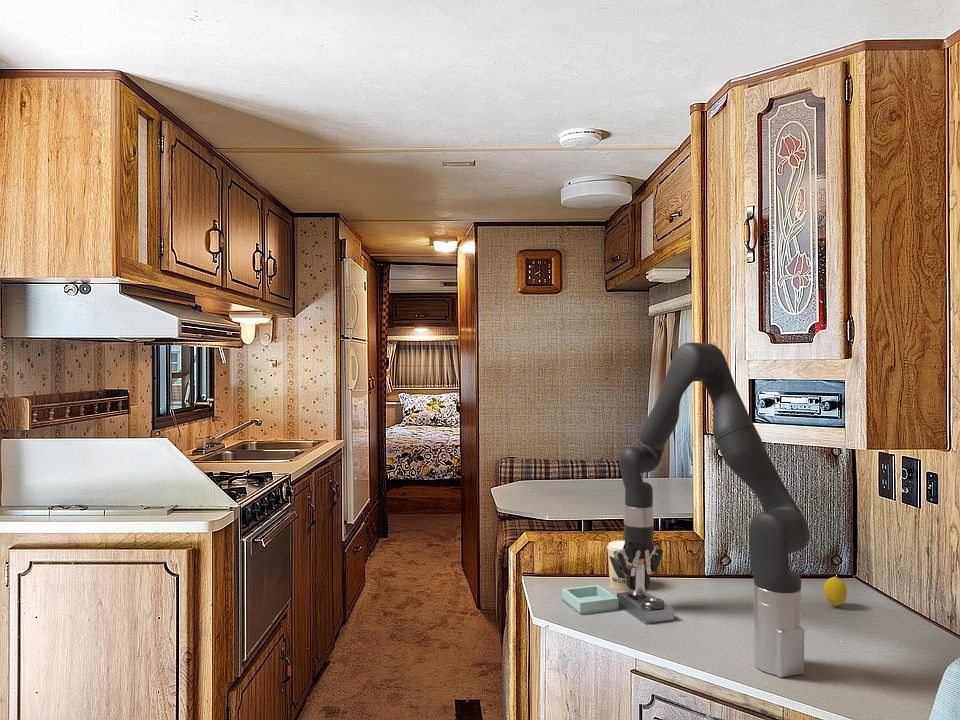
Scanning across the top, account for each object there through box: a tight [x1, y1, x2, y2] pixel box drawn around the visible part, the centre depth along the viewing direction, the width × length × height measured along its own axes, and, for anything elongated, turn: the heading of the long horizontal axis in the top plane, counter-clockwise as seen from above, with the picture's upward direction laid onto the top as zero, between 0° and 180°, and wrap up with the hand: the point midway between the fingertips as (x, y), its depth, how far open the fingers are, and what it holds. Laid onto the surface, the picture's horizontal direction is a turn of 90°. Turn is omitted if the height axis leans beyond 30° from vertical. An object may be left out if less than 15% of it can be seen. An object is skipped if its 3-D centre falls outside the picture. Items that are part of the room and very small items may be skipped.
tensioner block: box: [616, 590, 675, 625], centre depth 180 cm, size 14×8×5 cm, turn 18°
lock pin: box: [632, 558, 646, 601], centre depth 183 cm, size 3×3×13 cm
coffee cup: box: [606, 540, 632, 592], centre depth 200 cm, size 9×9×12 cm
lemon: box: [823, 575, 848, 608], centre depth 184 cm, size 6×6×8 cm
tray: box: [561, 584, 619, 615], centre depth 185 cm, size 11×11×3 cm
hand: (638, 588), depth 183 cm, fingers closed on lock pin, 3 cm apart
